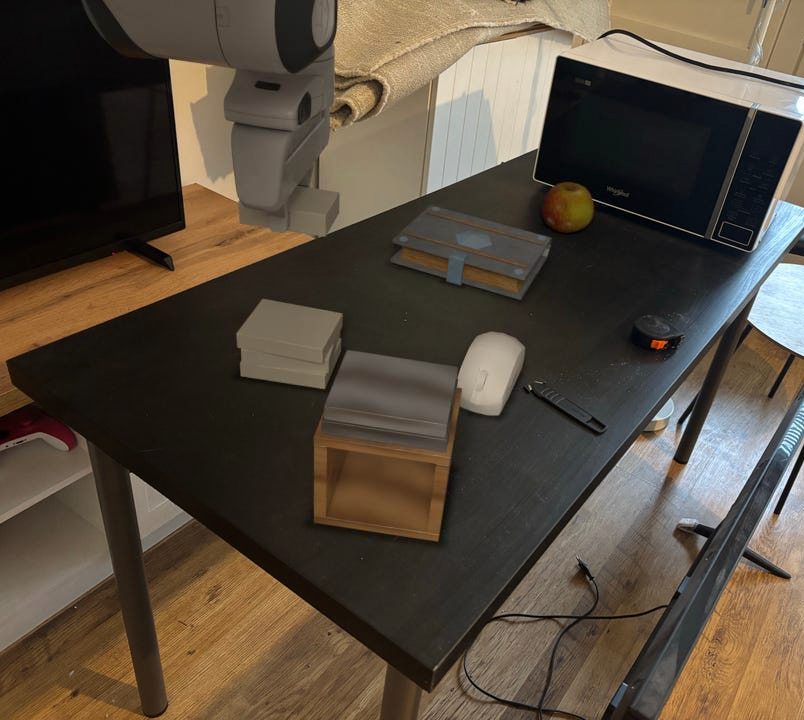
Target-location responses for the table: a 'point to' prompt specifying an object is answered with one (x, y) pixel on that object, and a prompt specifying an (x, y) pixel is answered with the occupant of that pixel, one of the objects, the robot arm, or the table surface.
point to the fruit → (568, 207)
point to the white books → (290, 344)
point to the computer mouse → (490, 372)
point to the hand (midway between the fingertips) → (290, 214)
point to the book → (472, 251)
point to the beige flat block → (301, 211)
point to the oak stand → (386, 446)
